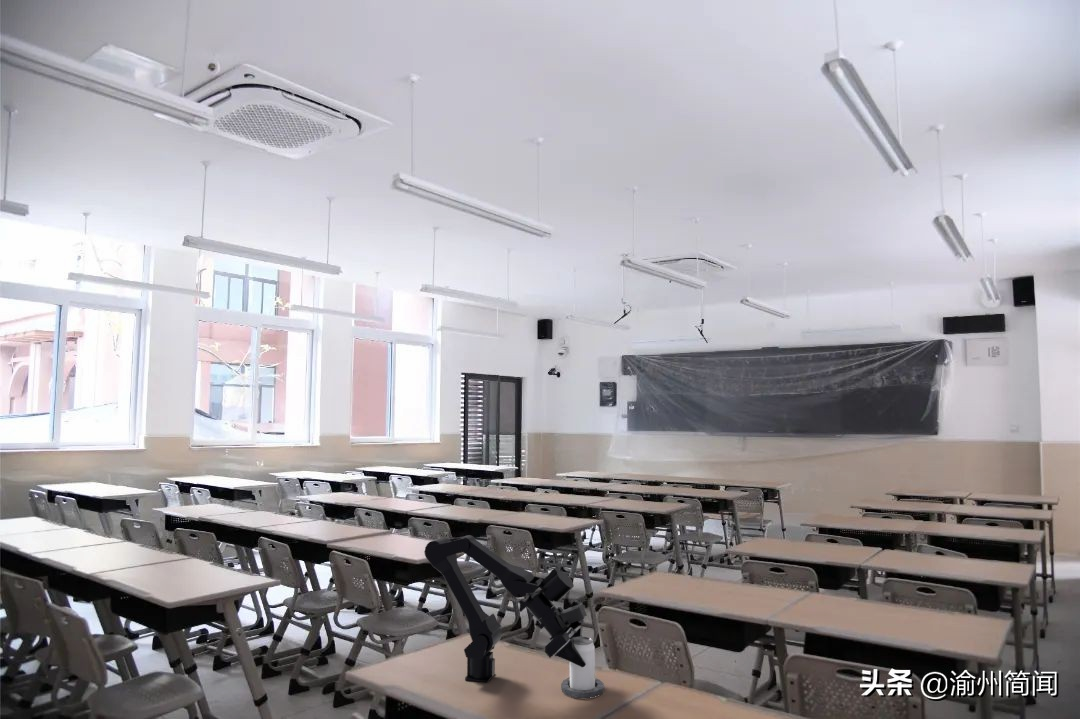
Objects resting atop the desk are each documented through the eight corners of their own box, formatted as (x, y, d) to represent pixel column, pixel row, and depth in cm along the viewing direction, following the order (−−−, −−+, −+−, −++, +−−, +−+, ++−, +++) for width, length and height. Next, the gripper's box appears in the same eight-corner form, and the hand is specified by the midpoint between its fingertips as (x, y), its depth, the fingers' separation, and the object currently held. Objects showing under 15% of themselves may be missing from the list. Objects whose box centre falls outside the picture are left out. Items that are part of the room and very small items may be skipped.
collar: (558, 696, 171) (558, 690, 172) (566, 680, 182) (566, 674, 182) (600, 700, 169) (600, 694, 169) (605, 684, 179) (605, 678, 179)
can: (593, 694, 172) (593, 645, 173) (567, 692, 173) (567, 644, 174) (596, 683, 179) (596, 636, 179) (571, 681, 180) (571, 635, 180)
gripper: (557, 602, 169) (601, 653, 165) (576, 584, 187) (616, 630, 183) (526, 631, 171) (569, 683, 167) (548, 610, 189) (587, 657, 185)
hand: (587, 661), depth 175 cm, fingers closed on can, 6 cm apart
